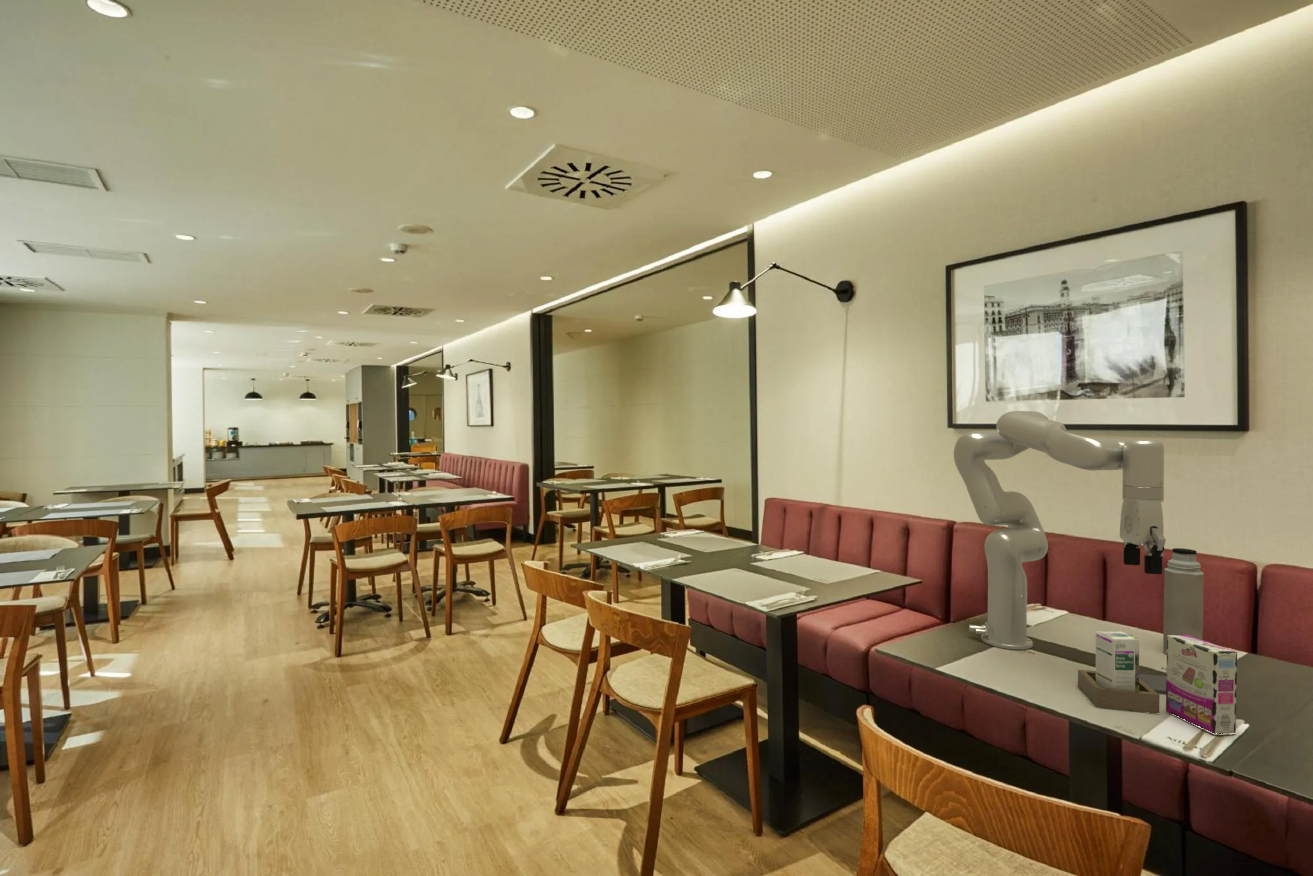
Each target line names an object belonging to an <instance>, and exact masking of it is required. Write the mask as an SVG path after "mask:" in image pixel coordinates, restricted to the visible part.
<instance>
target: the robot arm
mask: <svg viewBox="0 0 1313 876" xmlns="http://www.w3.org/2000/svg"><path fill="white" fill-rule="evenodd" d="M995 426H996V430H986V429H984V430H972V431H968V432H965V433H964V434H962V435H961V436H960V437H959V438H958V439H957V440H956V443H955V445H954V448H953V461H954V463H955V466H956V469H957V471H958V473H959V475H960V477H961V478H962V480H963V482H964V485H965V487H966V489H967V492H968V495H969V498H970V501H971V503H972V504H973V507H974V510H975V512H976V515H977V517H978V519H979V521H980V522H981V523H983V524H984V525H985V526H986V525H987V526H990V527H991V526H993V527H994V526H999V527H1000V526H1007V528H999V529H996V530H993V531H992V532H990V533H989V534H988V535H987V536H986V539H985V541H984V546H983V547H984V553H985V557H986V558H985V559H986V564H987V621H985V622H984V624H981V625H977V624H968V631H969V632H970V633H971V632H973V633H975V634H976V635H977V634H978V635H980V637H981V638H980V639H981V640H982V641H983V642H984V643H986V644H988V645H991V646H992V647H996V648H1002V649H1007V650H1013V651H1015V650H1016V651H1018V650H1021V651H1022V650H1029V649H1031V648H1032V647H1033V646H1034V641H1033V640H1032V639H1030V638H1029V637H1028V636H1027V635H1028V634H1027V626H1028V624H1027V622H1028V619H1027V618H1028V614H1027V613H1028V579H1027V574H1026V572H1025V570H1024V566H1023V564H1022V563H1028V562H1034V561H1040V560H1041V559H1043V558H1044V557H1045V556H1046V554H1047V553H1048V550H1049V542H1048V538H1047V535H1046V532H1045V530H1044V528H1043V526H1042V523H1041V522H1040V521H1041V520H1040V519H1039V517H1038V514H1037V512H1036V510H1035V507H1034V505H1033V504H1032V502H1031V500H1030V499H1029V498H1028V497H1027V496H1025V494H1023V493H1021V492H1017V491H1012V490H1009V491H1004V489H1003V488H1002V486H1001V484H1000V481H999V479H998V477H997V475H996V473H995V472H994V471H993V470H992V468H991V467H990V466H989V465H988V464H987V463H986V462H985V461H986V460H987V461H990V460H991V461H995V460H996V461H997V460H1007V459H1010V458H1013V457H1015V456H1018V455H1020V454H1021V453H1023V452H1024V451H1027V450H1029V449H1032V450H1036V451H1039V452H1042V453H1044V454H1046V455H1047V456H1049V457H1050V458H1052V459H1053V460H1055V461H1058V462H1060V463H1062V464H1065V465H1069V466H1072V467H1075V468H1077V469H1081V470H1086V471H1118V470H1122V491H1121V492H1122V494H1121V495H1122V500H1123V501H1122V505H1121V511H1120V522H1119V537H1120V539H1121V540H1122V541H1123V542H1122V546H1123V547H1122V548H1123V564H1124V565H1125V566H1129V565H1130V566H1140V565H1141V548H1140V546H1142V545H1143V548H1144V551H1145V554H1146V555H1144V557H1143V558H1144V559H1143V560H1144V562H1143V563H1144V564H1143V566H1144V567H1143V569H1144V570H1143V571H1144V573H1145V574H1147V575H1162V574H1163V557H1164V551H1165V545H1166V540H1167V539H1166V538H1165V536H1164V514H1163V506H1162V503H1164V498H1165V497H1164V496H1165V495H1164V494H1165V487H1164V485H1165V483H1164V481H1165V445H1164V444H1163V442H1161V441H1160V440H1156V439H1131V440H1130V439H1123V438H1106V437H1105V438H1101V437H1100V438H1091V437H1086V436H1082V435H1078V434H1074V433H1071V432H1068V431H1067V429H1066V426H1065V424H1064V423H1062V422H1060V421H1056V420H1053V419H1052V420H1051V419H1049V418H1048V417H1047V415H1045V414H1043V413H1042V412H1039V411H1032V410H1031V411H1030V410H1029V411H1028V410H1026V411H1025V410H1013V411H1008V412H1005V413H1003V414H1002V415H1001V416H1000V417H999V418H998V419H997V421H996V425H995Z"/></svg>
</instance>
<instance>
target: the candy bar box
mask: <svg viewBox="0 0 1313 876" xmlns="http://www.w3.org/2000/svg"><path fill="white" fill-rule="evenodd" d="M1166 676H1167V677H1166V694H1165V712H1166V713H1167V714H1170V713H1171V714H1170V715H1172V714H1174V715H1176V716H1179V717H1180V718H1182V719H1185V720H1186V721H1188V722H1190V723H1193V724H1195V725H1197V726H1200V727H1201V728H1204V729H1206V730H1208V731H1210V732H1212V733H1214V734H1216V733H1217V734H1221V733H1222V734H1223V733H1236V732H1237V731H1236V730H1237V723H1236V722H1237V688H1238V687H1237V683H1238V681H1237V677H1238V652H1237V651H1235V650H1232V649H1229V648H1226V647H1224V646H1221V645H1217V644H1215V643H1212V642H1209V641H1206V640H1200V639H1198V638H1195V637H1192V636H1189V635H1167V655H1166ZM1174 715H1173V716H1174ZM1176 716H1175V717H1176ZM1180 718H1179V719H1180ZM1182 719H1181V720H1182ZM1186 721H1185V722H1186ZM1188 722H1187V723H1188ZM1190 723H1189V724H1190ZM1236 734H1237V733H1236Z"/></svg>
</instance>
